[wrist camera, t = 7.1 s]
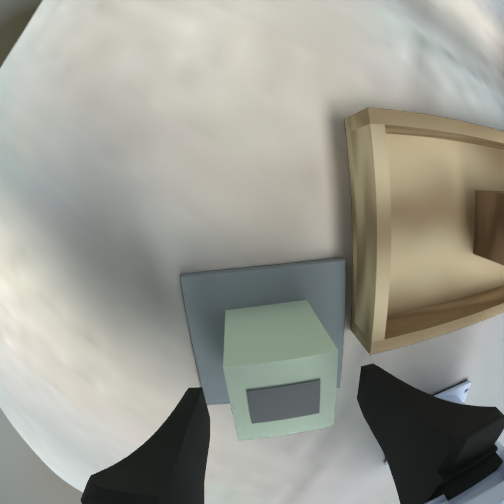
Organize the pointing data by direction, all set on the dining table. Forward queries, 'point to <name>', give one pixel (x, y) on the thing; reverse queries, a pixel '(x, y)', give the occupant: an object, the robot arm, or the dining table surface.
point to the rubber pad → (258, 294)
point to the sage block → (279, 370)
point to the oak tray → (419, 226)
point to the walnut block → (489, 225)
